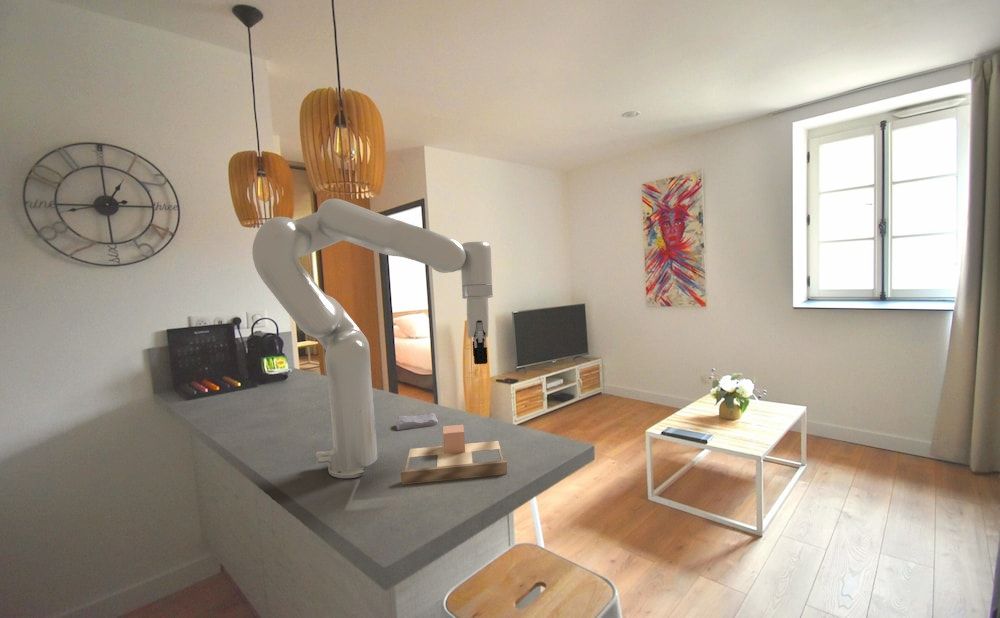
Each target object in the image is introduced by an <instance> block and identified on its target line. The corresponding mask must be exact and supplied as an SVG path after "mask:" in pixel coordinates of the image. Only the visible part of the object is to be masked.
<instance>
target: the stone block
mask: <svg viewBox="0 0 1000 618" xmlns="http://www.w3.org/2000/svg"><path fill="white" fill-rule="evenodd" d="M438 425H439V420H438V419H437V416H436V414H435V413H434V412H426V413H420V414H417V415H400V416H399V415H398V417H397V420H396V431H402V430H410V429H417V428H418V429H419V428H425V427H433V426H434V427H435V426H438Z"/></svg>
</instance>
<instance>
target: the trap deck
mask: <svg viewBox="0 0 1000 618" xmlns="http://www.w3.org/2000/svg"><path fill="white" fill-rule="evenodd" d="M492 450H493V451H494V450H498V453H499V456H500V460H493V461H484V462H483V461H482V462H481V461H480V462H473V455H472V454H473V452H482V451H492ZM429 456H437V460H436V461H437V462H436V466H433V467H432V466H431V467H430V466H429V467H419V468H411V469H408V468H409V464H410V461H411V458H418V457H429ZM507 474H508V461H507V459H504V457H503V453H502V449H501V446H500V442H499V440H494V441H492V440H491V441H482V442H471V443H470V442H469V443H465V452H461V453H450V454H444V445H437V446H429V447H416V448H410V449H409V451H408V456H407V460H406V464H405V469H401V471H400V481H401V485H407V484H417V483H427V482H438V481H447V480H448V481H450V480H459V479H468V478H477V477H478V478H479V477H488V476H490V477H491V476H499V475H507Z"/></svg>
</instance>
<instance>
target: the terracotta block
mask: <svg viewBox="0 0 1000 618" xmlns="http://www.w3.org/2000/svg"><path fill="white" fill-rule="evenodd" d="M442 427H443V428H442V438H443V439H442V442H443V443H442V444H443V446H444V454H450V453H461V452H465V444H466V443H465V442H466V441H465V440H466V439H465V428H464V424H455V425H453V424H452V425H443V426H442Z"/></svg>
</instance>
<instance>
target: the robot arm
mask: <svg viewBox="0 0 1000 618" xmlns="http://www.w3.org/2000/svg"><path fill="white" fill-rule="evenodd" d="M342 241H344V242H347V243H351V244H354V245H356V246H358V247H359V246H360V247H362V248H365V249H368V250H370V251H373V252H376V253H379V254H383V255H386V256H390V257H391V256H392V257H400V258H405V259H408V260H412V261H416V262H417V263H418V262H419V263H421V264H424V265H427V266H430V268H432V270H434V271H436V272H438V273H441V274H442V273H443V274H447V273H454V272H459V271H460V273H461V275H460V276H461V293H462V295H461V296H462V299H463V300H465V299H466V323H467V326H466V327H467V337H468V339H469V340H472V339H473V341H472V355H473V361H474V362H473V363H474V364H475V365H487V364H488V347H487V341H486V338H488V336H489V298H493V295H494V294H493V274H492V273H493V270H492V269H493V268H492V249H491V245H490V244H489V243H488V242H486V241H468V242H464V243H460V242H458V241H457V240H455V239H453V238H451V237H448V236H446V235H443V234H441V233H437V232H434V231H432V230H429V229H426V228H423V227H421V226H417V225H414V224H410V223H409V222H405V221H403V220H402V221H401V220H400V219H399V220H398V219H395V218H393V217H389V216H387V215H384V214H381V213H378V212H375V211H373V210H371V209H368V208H365V207H363V206H360V205H357V204H355V203H352V202H350V201H347V200H344V199H340V198H329V199H326V200H324V201H323V202H322V203H321V204H320V205H319V206H318V209H317V211H316V212H313V213H311V214H308V215H306V216H303V217H300V218H297V219H293V218H291V217H289V216H288V217H287V216H274V217H272V218H270V219H268V220H266V221H265V222H264V223H263V224H262V225H261V226H260V227H259V229H258V231H257V232H256V234H255V236H254V240H253V243H252V248H251V249H252V260H253V264H254V267H255V270H256V272H257V273H258V276H259V278H260V279H261V281H262V282H263V284H264V285H266V287H267V288H268V289H269V291H270V292H271V293H272V294H273V296H274V297H275V298H276V300H277V302H278V303H279V304H281V306H282V308H283V309H284V310H285V311H286V312H287V314H288V316H290V317H291V319H292V320H293V321H294V322H295V324H296V325H297V327H298V328H299V329H300V331H302V332H303V333H304V334H305V335H307V336H310V337H312V338H315V339H316V340H317V341H318V343H319V344H320V345H321V346H322V347H323V348H324V349H325V353H324V366H325V372H326V373H325V374H326V380H327V387H328V389H327V390H328V399H329V407H330V418H331V419H330V420H331V421H330V422H331V429H332V430H331V431H332V433H331V434H332V441H333V448H332V449H330V450H329V451H325V450H323V451H322V450H320V451H316V454H315V461H318V464H325V463H329V465H328V468H327V469H328V470H327V471H328V474H329V475H330V476H331V477H334V478H338V479H354V478H360V477H363V476H364V473H365V471H366V469H367V467H368V466H371V465H372V464H374V463H375V462H376V461H377V460H378V456H379V455H378V445H377V444H378V442H377V431H376V420H375V418H376V417H375V407H374V406H375V405H374V393H373V384H372V383H373V382H372V380H373V379H372V370H371V369H372V367H371V352H370V351H371V349H370V343H369V340H368V338H367V337H366V335H365V334H364V332H362V330H361V329H360V328H359V326H358V325H357V324H356V323H355V321H354V319H352V317H351V316H350V315H349V314H348V313H347V311H346V310H345V309H344V307H343V306H342V304H340V303H339V302H338V300H337V299H335V298H334V297H333V296H330V295H327V294H326V293H325V292H324V291H323V290H322V289H321V288H320V286H319V285H318V284H317V283H316V282H315V280H314V279H313V277H312V276H311V274H310V273H309V272H308V271H307V270H306V269H305V268H304V266H303V265H302V264H301V263H302V262H301V261H300V259H299V258H302V257H304V256H305V257H306V256H308V255H310V254H313V253H314V252H317V251H320V250H322V249H325V248H327V247H330V246H333V245H334V244H337V243H339V242H342Z"/></svg>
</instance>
